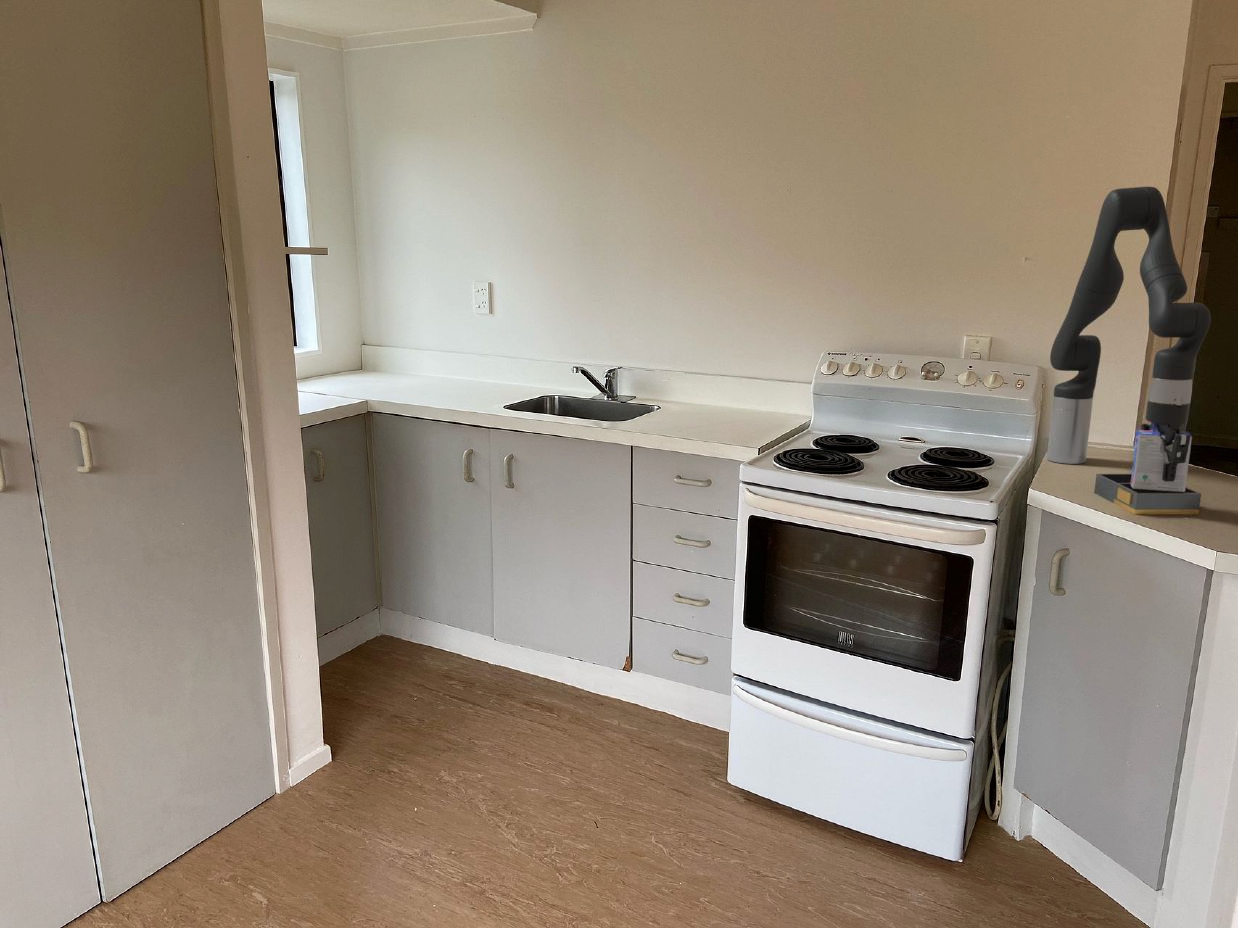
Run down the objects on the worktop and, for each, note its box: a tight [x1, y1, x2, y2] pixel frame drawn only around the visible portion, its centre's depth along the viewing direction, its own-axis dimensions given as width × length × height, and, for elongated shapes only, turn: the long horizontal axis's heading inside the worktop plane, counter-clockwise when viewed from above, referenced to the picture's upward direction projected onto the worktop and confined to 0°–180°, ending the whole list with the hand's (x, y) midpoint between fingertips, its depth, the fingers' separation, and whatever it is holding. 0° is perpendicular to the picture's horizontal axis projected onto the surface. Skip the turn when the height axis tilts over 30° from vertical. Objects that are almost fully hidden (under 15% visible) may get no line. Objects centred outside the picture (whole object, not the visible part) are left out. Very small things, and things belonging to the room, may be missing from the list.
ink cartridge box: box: [1130, 423, 1193, 492], centre depth 179 cm, size 10×6×14 cm, turn 66°
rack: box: [1093, 473, 1202, 515], centre depth 185 cm, size 17×13×4 cm
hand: (1158, 476), depth 180 cm, fingers closed on ink cartridge box, 6 cm apart
